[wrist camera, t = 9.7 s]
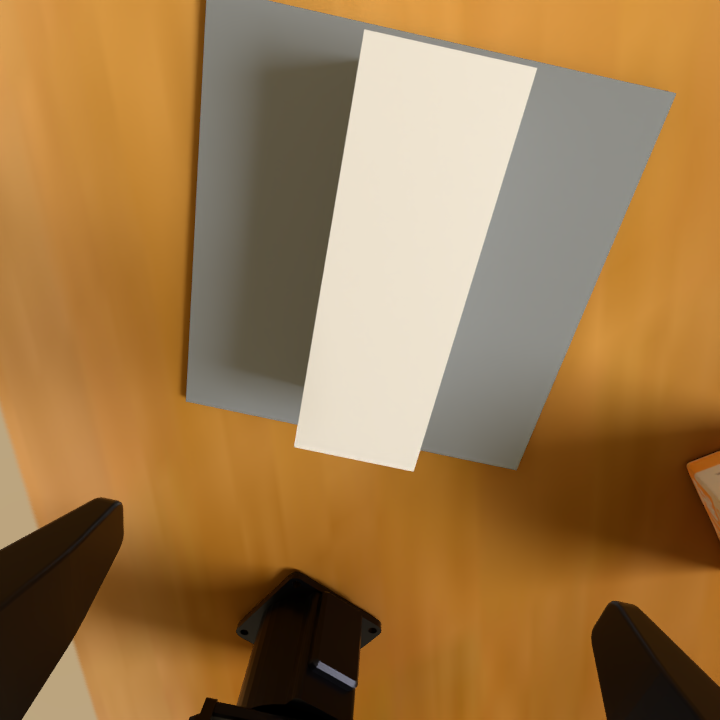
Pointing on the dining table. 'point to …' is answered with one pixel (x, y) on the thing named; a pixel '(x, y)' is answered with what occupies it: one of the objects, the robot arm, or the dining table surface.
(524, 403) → the mat
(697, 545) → the dining table surface
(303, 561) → the dining table surface
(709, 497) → the supplement box
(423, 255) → the block
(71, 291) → the dining table surface
